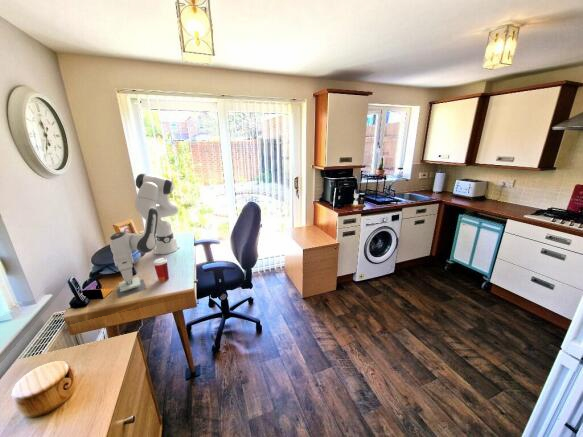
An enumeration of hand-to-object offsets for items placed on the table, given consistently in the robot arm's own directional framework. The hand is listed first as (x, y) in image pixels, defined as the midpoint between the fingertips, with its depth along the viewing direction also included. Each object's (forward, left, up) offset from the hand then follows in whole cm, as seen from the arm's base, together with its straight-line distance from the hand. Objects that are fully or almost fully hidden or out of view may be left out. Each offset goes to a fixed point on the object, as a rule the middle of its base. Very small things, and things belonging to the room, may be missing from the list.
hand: (129, 281), depth 140 cm
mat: (+1, 0, -5) cm, 5 cm away
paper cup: (+3, +17, -5) cm, 18 cm away
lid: (0, 0, -2) cm, 2 cm away
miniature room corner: (-4, -15, -5) cm, 16 cm away
